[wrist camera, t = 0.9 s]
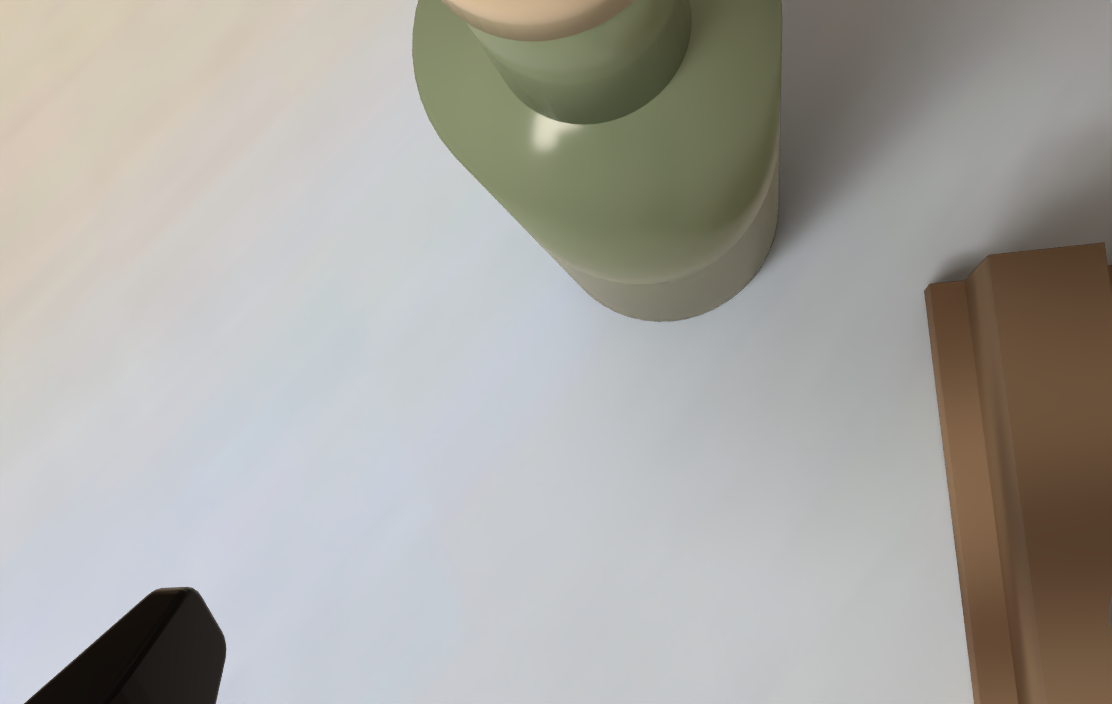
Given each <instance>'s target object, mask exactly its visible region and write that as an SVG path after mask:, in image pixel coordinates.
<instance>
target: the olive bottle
mask: <svg viewBox="0 0 1112 704" xmlns="http://www.w3.org/2000/svg"><path fill="white" fill-rule="evenodd" d="M781 51H782V4H781V0H419V1H418V4H417V8H416V13H415V20H414V27H413V49H412V56H413V64H414V73H415V79H416V83H417V87H418V91H419V94H420V98H421V101H422V103H423V106H424V108H425V111H426V113H427V116H428V118H429V120H430V122H431V124H432V125H433V127H434V129H435V130H436V132H437V134H438V135H439V137H440V139H441V140H442V141H443V143H444V144H445V145H446V146H447V148H448V149H449V150H450V151H451V153H452V154H453V155H454V156H455V157H456V158H457V160H458V161H459V162H460V163H461V164H462V165H463V166H464V167H465V168H466V169H467V170H468V171H469V172H470V173H471V174H472V175H473V176H474V177H475V178H476V179H477V180H478V181H479V182H480V183H481V184H482V185H483V186H484V187H485V188H486V189H487V190H488V191H489V193H490V194H491V195H492V196H493V197H494V198H495V199H496V200H497V201H498V202H499V203H500V204H501V205H502V206H503V207H504V208H505V209H506V210H507V211H508V212H509V213H510V214H511V215H512V216H513V217H514V218H515V219H516V220H517V221H518V222H519V223H520V225H521V226H522V227H523V228H524V229H525V230H526V231H527V232H528V233H529V234H530V235H531V236H532V237H533V238H534V239H535V240H536V241H537V242H538V243H539V244H540V245H541V246H542V247H543V248H544V249H545V250H546V251H547V252H548V253H549V254H550V255H551V257H552V258H553V259H554V260H555V261H556V262H557V263H558V264H559V265H560V266H561V267H562V268H563V269H564V270H565V271H566V272H567V273H568V274H569V275H570V276H571V277H572V278H573V279H574V280H575V281H576V282H577V283H578V284H579V285H580V286H581V287H582V288H583V289H584V290H585V291H586V292H587V293H588V294H589V295H590V296H591V297H592V298H594V299H595V300H596V301H598V302H599V303H601V304H602V305H604V306H605V307H607V308H609V309H611V310H613V311H615V312H617V313H620V314H623V315H625V316H628V317H631V318H636V319H640V320H646V321H657V322H662V321H677V320H683V319H688V318H692V317H695V316H698V315H702V314H704V313H706V312H709V311H711V310H713V309H715V308H717V307H719V306H720V305H722V304H724V303H725V302H727V301H729V300H730V299H731V298H732V297H734V296H735V295H736V294H737V293H739V292H740V291H741V290H742V289H743V288H744V287H745V286H746V285H747V284H748V283H749V282H750V281H751V280H752V278H753V277H754V276H755V274H756V273H757V272H758V270H759V269H760V267H761V266H762V264H763V262H764V260H765V258H766V257H767V255H768V252H769V250H770V247H771V245H772V242H773V239H774V235H775V231H776V227H777V218H778V196H779V147H780V99H781Z"/></svg>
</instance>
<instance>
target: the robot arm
mask: <svg viewBox="0 0 1112 704" xmlns="http://www.w3.org/2000/svg"><path fill="white" fill-rule="evenodd" d="M1110 625H1111V631H1112V599H1111V605H1110ZM225 658H226V642H225V638H224V635H223V633H222V631H221V629H220V627H219V626H218V624H217V622H216V620H215V619H214V617H213V615H212V614H211V612H210V610H209V608H208V607H207V605H206V603H205V602H204V600H203V598H202V596H201V595H200V594H199V592H198V591H196V590H195V589H193V588H191V587H174V588H160V589H157V590H155V591H153V592H151V593H150V594H149V595H147V596H146V597H145V598H144V599H143V600H142V601H140V602H139V603H138V604H137V605H136V606H135V607H134V608H132V609H131V610H130V611H129V612H128V613H127V614H126V615H125V616H123V617H122V618H121V619H120V620H119V621H118V622H117V623H115V624H114V625H113V626H112V627H111V628H110V629H109V630H107V631H106V632H105V633H104V634H103V635H102V636H101V637H99V638H98V639H97V640H96V641H95V642H94V643H93V644H91V645H90V646H89V647H88V648H87V649H86V650H85V651H83V652H82V653H81V654H80V655H79V656H78V657H77V658H76V659H74V660H73V661H72V662H71V663H70V664H69V665H68V666H66V667H65V668H64V669H63V670H62V671H61V672H60V673H58V674H57V675H56V676H55V677H54V678H53V679H52V680H50V681H49V682H48V683H47V684H46V685H45V686H44V687H42V688H41V689H40V690H39V691H38V692H37V693H36V694H34V695H33V696H32V697H31V698H30V699H29V700H28V701H27V702H25V703H24V704H216V700H217V696H218V691H219V686H220V682H221V677H222V673H223V668H224V663H225Z"/></svg>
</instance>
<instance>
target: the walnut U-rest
mask: <svg viewBox="0 0 1112 704" xmlns="http://www.w3.org/2000/svg"><path fill="white" fill-rule="evenodd" d="M924 293H925V301H926V309H927V318H928V326H929V334H930V342H931V351H932V359H933V367H934V375H935V384H936V392H937V400H938V408H939V417H940V425H941V433H942V441H943V450H944V458H945V466H946V474H947V483H948V491H949V499H950V507H951V516H952V524H953V532H954V540H955V549H956V557H957V565H958V573H959V582H960V590H961V598H962V606H963V615H964V623H965V631H966V639H967V648H968V656H969V664H970V672H971V681H972V689H973V697H974V704H1112V631H1111V625H1110V605H1111V599H1112V265H1109V266H1107V259H1106V252H1105V245H1104V243H1095V244H1086V245H1076V246H1067V247H1058V248H1049V249H1039V250H1030V251H1021V252H1011V253H1002V254H993V255H988V256H987V257H986V258H985V259H984V260H983V261H982V262H981V263H980V264H979V266H978V267H977V268H976V269H975V270H974V271H973V272H972V273H971V274H970V275H969V276H968V277H967V278H966V279H965V280H964V281H954V282H945V283H935V284H929V285H928V287H927V288H926V289H925V291H924Z"/></svg>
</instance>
